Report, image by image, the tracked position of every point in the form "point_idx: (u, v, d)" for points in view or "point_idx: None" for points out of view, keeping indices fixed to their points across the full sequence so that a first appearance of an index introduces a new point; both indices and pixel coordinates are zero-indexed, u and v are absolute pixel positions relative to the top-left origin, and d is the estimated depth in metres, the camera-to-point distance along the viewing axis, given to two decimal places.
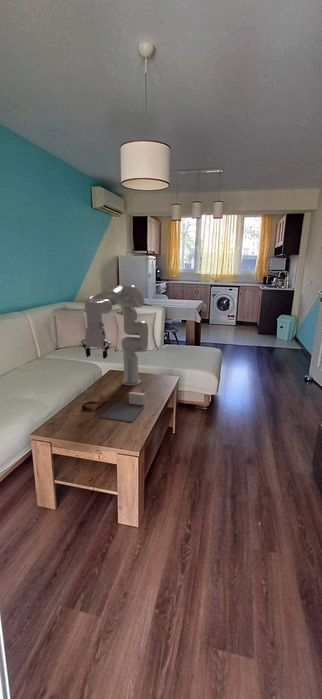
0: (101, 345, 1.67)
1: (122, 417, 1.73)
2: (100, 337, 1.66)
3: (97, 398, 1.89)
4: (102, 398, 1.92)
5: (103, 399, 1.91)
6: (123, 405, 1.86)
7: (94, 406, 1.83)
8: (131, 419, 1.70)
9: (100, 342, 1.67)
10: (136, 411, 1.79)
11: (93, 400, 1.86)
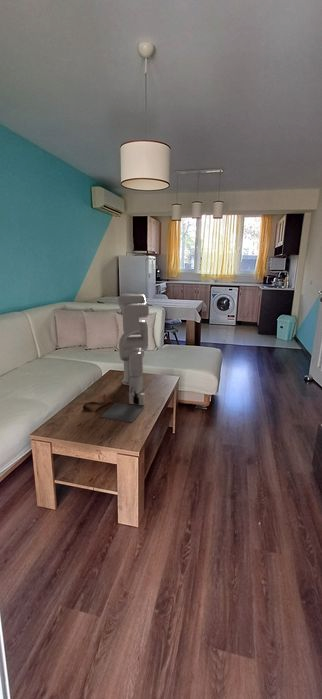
0: (142, 386, 1.91)
1: (122, 417, 1.73)
2: (142, 380, 1.89)
3: (100, 399, 1.88)
4: (105, 399, 1.90)
5: (106, 400, 1.90)
6: (123, 405, 1.86)
7: (95, 406, 1.82)
8: (131, 419, 1.70)
9: (142, 384, 1.90)
10: (136, 411, 1.79)
11: (95, 401, 1.85)
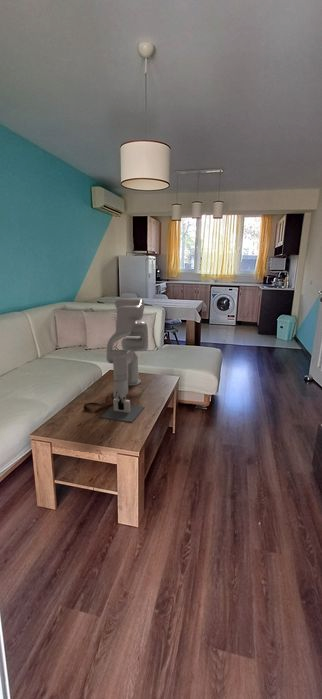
0: None
1: (122, 417, 1.73)
2: (127, 384, 1.79)
3: (102, 400, 1.87)
4: (108, 401, 1.88)
5: (108, 402, 1.87)
6: None
7: (95, 407, 1.81)
8: (131, 419, 1.70)
9: None
10: (136, 411, 1.79)
11: (96, 401, 1.84)
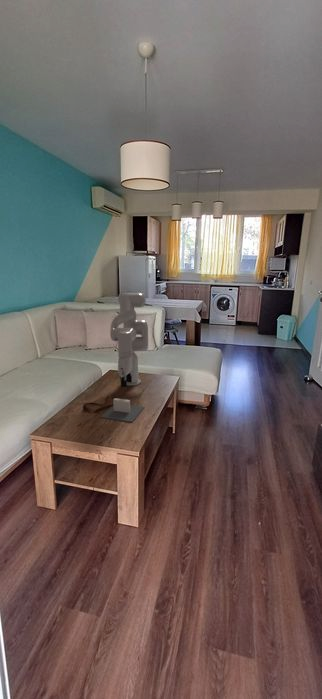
0: (132, 368, 1.84)
1: (122, 417, 1.73)
2: (132, 361, 1.83)
3: (102, 400, 1.87)
4: (108, 401, 1.88)
5: (108, 402, 1.87)
6: None
7: (94, 407, 1.81)
8: (131, 419, 1.70)
9: (132, 366, 1.83)
10: (136, 411, 1.79)
11: (96, 401, 1.84)
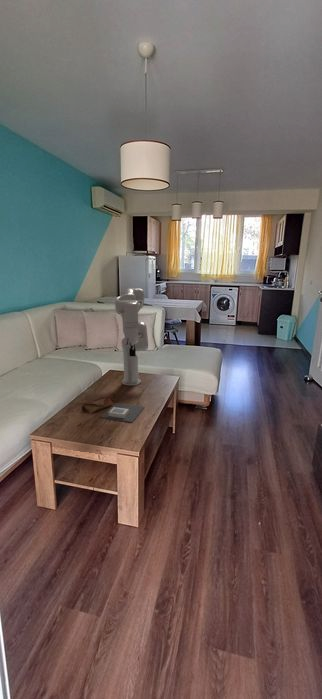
0: (138, 340, 1.89)
1: None
2: (137, 333, 1.88)
3: (101, 401, 1.86)
4: (107, 402, 1.87)
5: (107, 403, 1.86)
6: (123, 405, 1.86)
7: (93, 408, 1.80)
8: (131, 419, 1.70)
9: (138, 337, 1.88)
10: (136, 411, 1.79)
11: (95, 402, 1.83)
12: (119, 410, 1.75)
